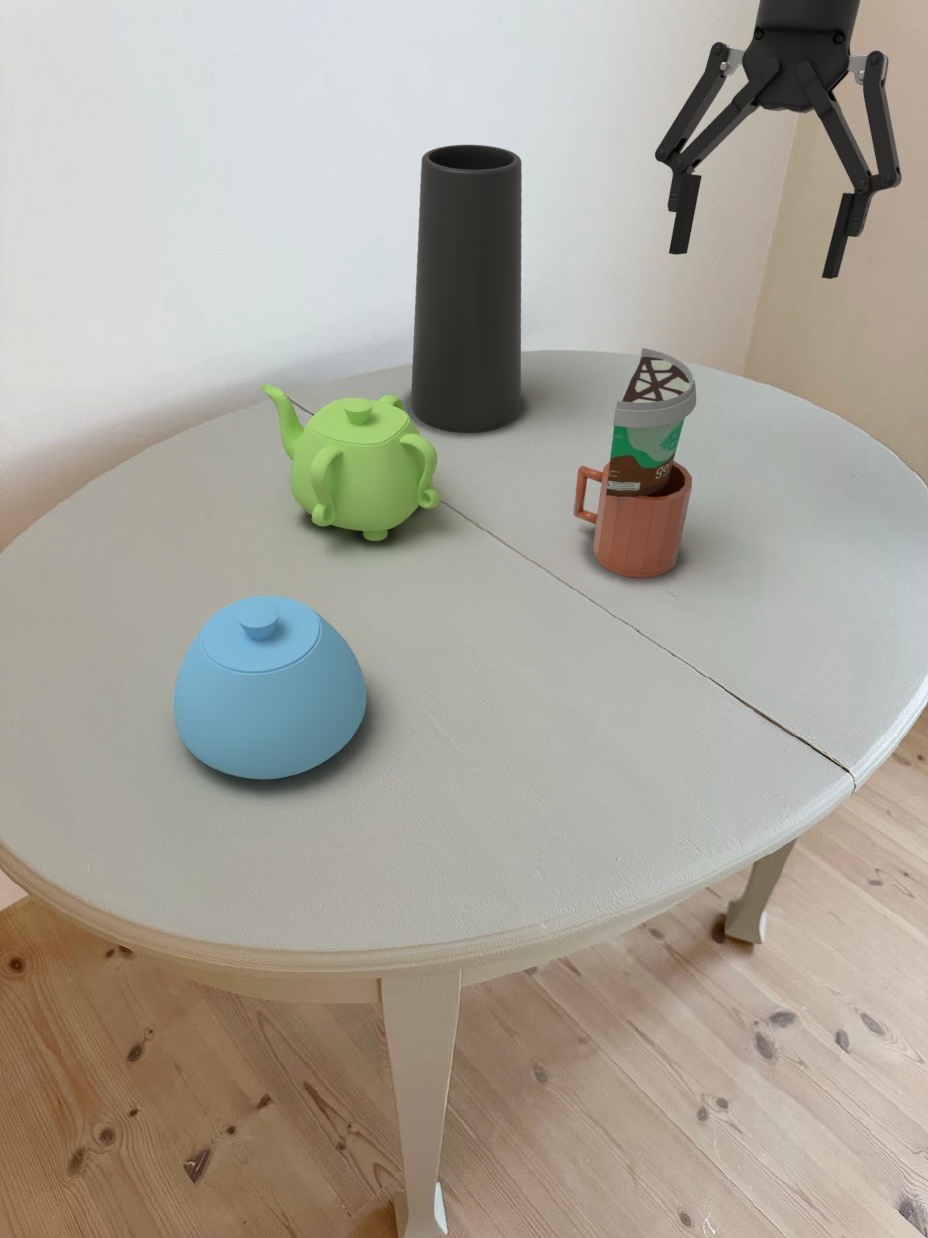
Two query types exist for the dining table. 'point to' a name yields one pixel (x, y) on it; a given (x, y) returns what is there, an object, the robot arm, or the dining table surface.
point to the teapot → (358, 463)
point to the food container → (649, 425)
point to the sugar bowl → (268, 690)
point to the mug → (637, 524)
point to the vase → (468, 289)
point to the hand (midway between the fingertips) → (751, 265)
